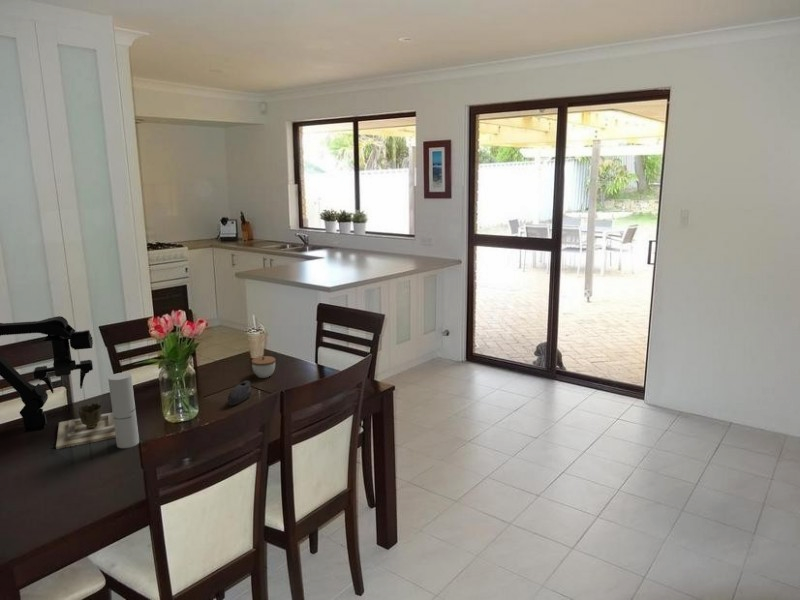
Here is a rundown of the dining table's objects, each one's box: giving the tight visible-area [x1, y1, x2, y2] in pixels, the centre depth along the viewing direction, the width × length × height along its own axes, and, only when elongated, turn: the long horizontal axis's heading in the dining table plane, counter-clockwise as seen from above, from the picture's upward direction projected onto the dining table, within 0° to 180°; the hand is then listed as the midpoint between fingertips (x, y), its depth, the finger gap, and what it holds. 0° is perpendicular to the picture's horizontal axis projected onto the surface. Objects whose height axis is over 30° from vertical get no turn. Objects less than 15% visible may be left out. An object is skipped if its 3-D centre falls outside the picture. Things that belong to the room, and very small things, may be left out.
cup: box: [77, 402, 102, 429], centre depth 208 cm, size 8×7×8 cm
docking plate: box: [55, 412, 116, 450], centre depth 209 cm, size 22×22×2 cm
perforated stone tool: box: [227, 379, 252, 406], centre depth 234 cm, size 15×5×7 cm, turn 160°
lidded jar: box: [251, 355, 276, 379], centre depth 263 cm, size 11×11×9 cm
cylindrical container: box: [107, 372, 140, 449], centre depth 196 cm, size 7×7×25 cm
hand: (67, 390), depth 212 cm, fingers open, 9 cm apart
